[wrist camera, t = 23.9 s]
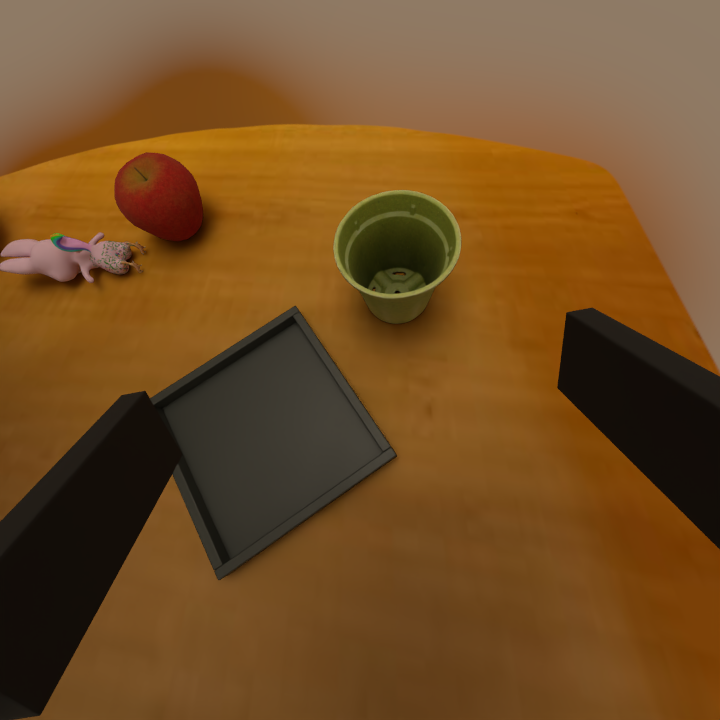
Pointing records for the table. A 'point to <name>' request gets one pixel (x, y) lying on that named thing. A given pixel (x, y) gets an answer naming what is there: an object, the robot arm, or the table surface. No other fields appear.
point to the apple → (159, 196)
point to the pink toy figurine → (67, 257)
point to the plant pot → (397, 251)
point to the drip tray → (266, 439)
